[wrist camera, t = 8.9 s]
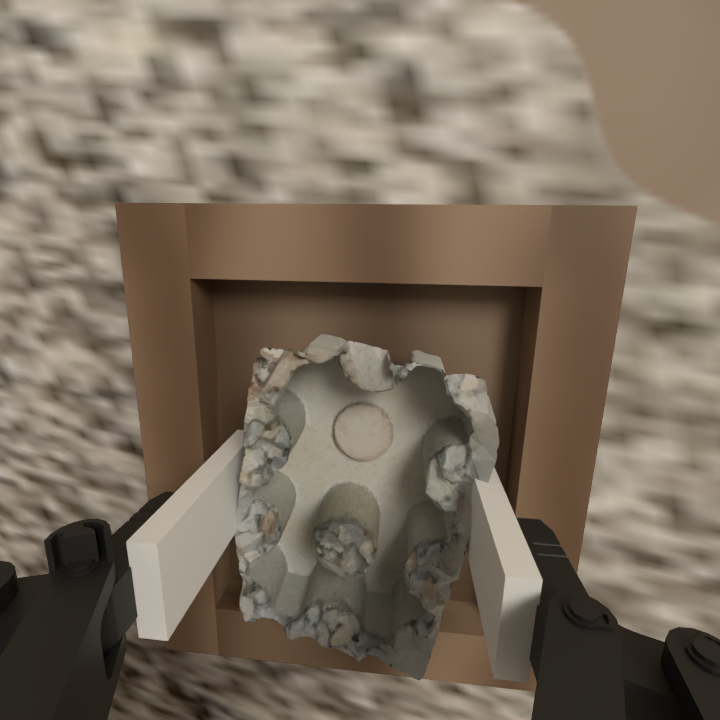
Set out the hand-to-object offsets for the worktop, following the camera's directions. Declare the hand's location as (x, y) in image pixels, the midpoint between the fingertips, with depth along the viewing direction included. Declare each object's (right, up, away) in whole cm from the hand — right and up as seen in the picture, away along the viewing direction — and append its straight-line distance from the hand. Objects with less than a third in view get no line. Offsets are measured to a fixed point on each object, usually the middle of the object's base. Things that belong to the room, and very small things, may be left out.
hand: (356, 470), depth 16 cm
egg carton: (0, 0, +1) cm, 1 cm away
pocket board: (0, +1, +2) cm, 2 cm away
